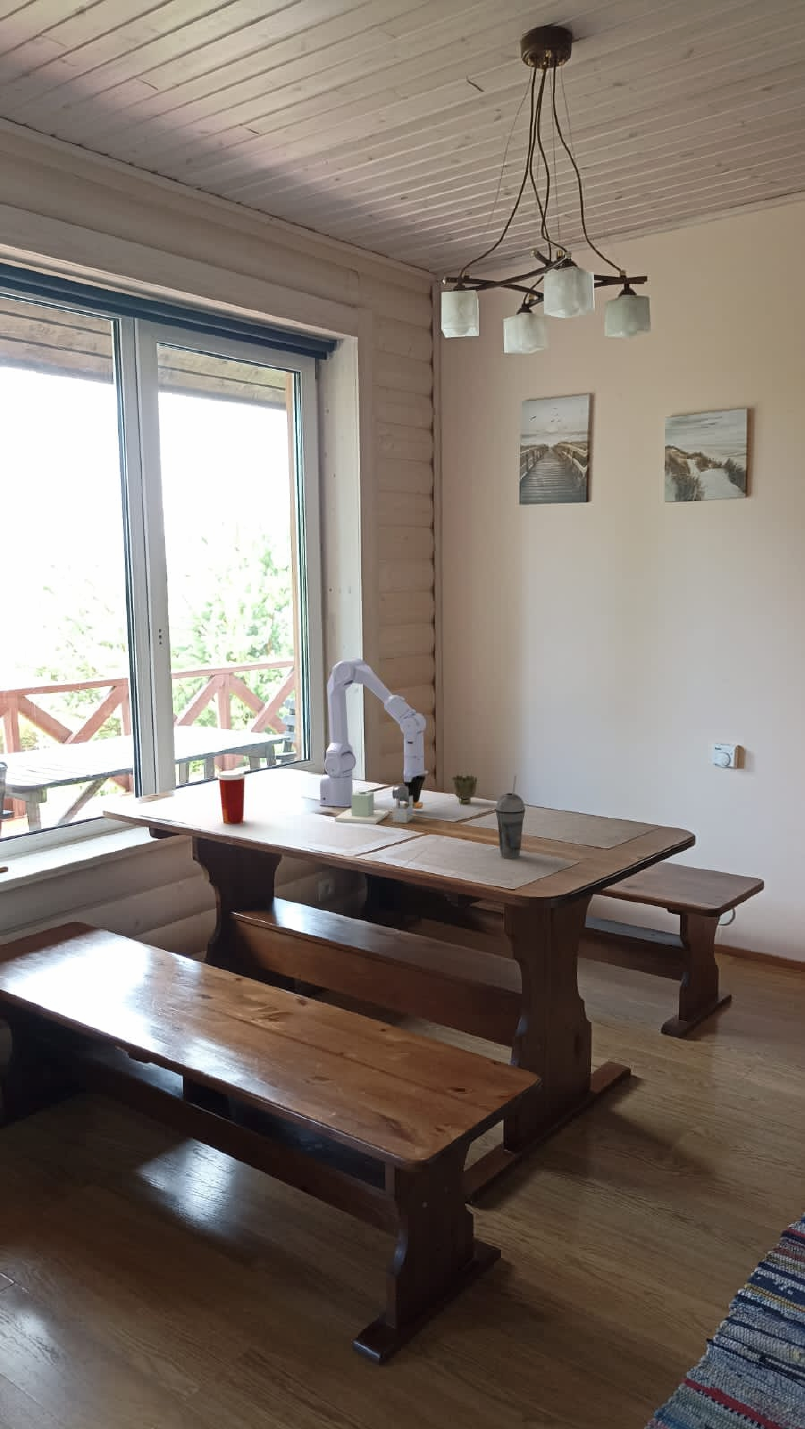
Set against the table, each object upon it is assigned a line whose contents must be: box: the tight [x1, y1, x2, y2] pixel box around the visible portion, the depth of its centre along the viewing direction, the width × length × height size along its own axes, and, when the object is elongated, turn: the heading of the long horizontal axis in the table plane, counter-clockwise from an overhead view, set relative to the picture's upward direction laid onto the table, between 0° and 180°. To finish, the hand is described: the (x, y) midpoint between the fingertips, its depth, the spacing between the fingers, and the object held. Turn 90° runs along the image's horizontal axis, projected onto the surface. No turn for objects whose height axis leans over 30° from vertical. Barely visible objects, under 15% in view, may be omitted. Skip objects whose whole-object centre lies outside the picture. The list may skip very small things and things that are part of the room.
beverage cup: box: [494, 775, 526, 860], centre depth 243 cm, size 7×7×20 cm
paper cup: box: [217, 769, 246, 825], centre depth 282 cm, size 8×8×14 cm
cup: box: [452, 774, 478, 805], centre depth 302 cm, size 8×7×8 cm
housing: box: [350, 790, 375, 817], centre depth 285 cm, size 5×5×6 cm
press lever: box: [391, 785, 424, 810], centre depth 285 cm, size 5×17×4 cm, turn 163°
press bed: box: [334, 807, 390, 825], centre depth 285 cm, size 12×12×1 cm
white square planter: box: [392, 795, 414, 824], centre depth 281 cm, size 4×6×7 cm
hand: (414, 801), depth 293 cm, fingers closed
